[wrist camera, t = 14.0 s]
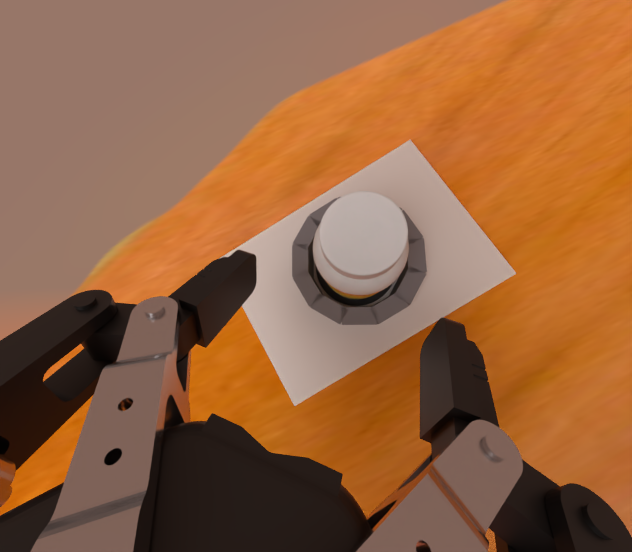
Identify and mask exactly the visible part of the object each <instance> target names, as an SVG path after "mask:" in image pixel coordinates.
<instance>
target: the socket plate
mask: <svg viewBox="0 0 632 552" xmlns="http://www.w3.org/2000/svg"><path fill="white" fill-rule="evenodd" d="M357 191H371V192H376V193H379V194H382V195H384V196H386V197H388V198H389V199H391V200H392V201H393V202H395V203H396V204H397V205H398V207H399V208H400V209H401V211H402V212H403V214H404V216H405V219H406V222H407V227H408V243H409V253H408V258H407V262H406V265H405V267H404V269H403V271H402V273H401V274H400V275H399V277H398V278H397V279H396V280H395V281H394V282H393V283H392V284H391V285H390V286H388V287H387V288H386V289H384V290H382V291H380V292H378V293H376V294H375V295H373V296H371V297H368V298H365V299H359V300H353V299H348V298H345V297H342V296H340V295H339V294H337V293H336V292H335V291H333V290H332V288H331V287H330V286H329V285H328V283H327V282H326V281H325V280H324V278H323V277H322V276H321V274H320V272H319V271H318V269H317V267H316V264H315V261H314V257H313V240H314V236H315V233H316V230H317V228H318V226H319V225H320V223H321V220H322V218H323V215H324V214H325V212H326V210H327V209H328V208H329V207H330V206H331V204H332V203H334V202H335V201H336V200H337V199H339V198H340V197H342V196H344V195H346V194H349V193H353V192H357ZM236 250H243V251H246V252H249V253H252V254H254V255H255V256H256V272H257V281H256V286H255V289H254V291H253V293H252V294H251V295H250V297H249V298H248V299H247V300H246V301H245V302H244V304H243V305H242V307H243V309H244V310H245V312H246V314H247V316H248V318H249V320H250V322H251V324H252V326H253V328H254V330H255V331H256V333H257V335H258V337H259V339H260V341H261V343H262V345H263V347H264V349H265V351H266V353H267V354H268V356H269V358H270V360H271V362H272V364H273V366H274V368H275V370H276V372H277V374H278V376H279V377H280V379H281V381H282V383H283V385H284V387H285V389H286V391H287V393H288V395H289V397H290V399H291V400H292V402H293V404H294V406H296V405H297V404H299V403H301V402H302V401H304V400H306V399H307V398H309V397H311V396H312V395H314V394H316V393H317V392H319V391H321V390H322V389H324V388H326V387H327V386H329V385H331V384H332V383H334V382H336V381H338V380H339V379H341V378H343V377H344V376H346V375H348V374H349V373H351V372H353V371H354V370H356V369H358V368H359V367H361V366H363V365H364V364H366V363H368V362H369V361H371V360H373V359H374V358H376V357H378V356H379V355H381V354H383V353H384V352H386V351H388V350H389V349H391V348H393V347H394V346H396V345H398V344H399V343H401V342H403V341H404V340H406V339H408V338H409V337H411V336H413V335H414V334H416V333H418V332H419V331H421V330H423V329H424V328H426V327H428V326H429V325H431V324H433V323H435V322H436V321H438V320H439V319H440V318H443V317H445V316H446V315H448V314H450V313H451V312H453V311H455V310H456V309H458V308H460V307H461V306H463V305H465V304H466V303H468V302H470V301H471V300H473V299H475V298H476V297H478V296H480V295H481V294H483V293H485V292H486V291H488V290H490V289H491V288H493V287H495V286H496V285H498V284H500V283H501V282H503V281H505V280H506V279H508V278H510V277H511V276H513V275H515V274H516V272H515V271H514V270H513V268H512V267H511V266H510V265H509V263H508V262H507V261H506V260H505V258H504V257H503V256H502V255H501V253H500V252H499V251H498V250H497V248H496V247H495V246H494V245H493V243H492V242H491V241H490V239H489V238H488V237H487V236H486V234H485V233H484V232H483V231H482V229H481V228H480V227H479V226H478V224H477V223H476V222H475V221H474V219H473V218H472V217H471V216H470V214H469V213H468V212H467V211H466V209H465V208H464V207H463V205H462V204H461V203H460V202H459V200H458V199H457V198H456V197H455V195H454V194H453V193H452V192H451V190H450V189H449V188H448V187H447V185H446V184H445V183H444V182H443V180H442V179H441V178H440V177H439V175H438V174H437V173H436V171H435V170H434V169H433V168H432V166H431V165H430V164H429V163H428V161H427V160H426V159H425V158H424V156H423V155H422V154H421V153H420V151H419V150H418V149H417V148H416V146H415V145H414V144H413V143H412V141H411V140H409V141H407V142H406V143H404V144H402V145H401V146H399V147H397V148H396V149H394V150H393V151H391V152H389V153H388V154H386V155H385V156H383V157H381V158H380V159H378V160H377V161H375V162H373V163H372V164H370V165H369V166H367V167H365V168H364V169H362V170H361V171H359V172H357V173H356V174H354V175H353V176H351V177H349V178H348V179H346V180H344V181H343V182H341V183H340V184H338V185H336V186H335V187H333V188H332V189H330V190H328V191H327V192H325V193H324V194H322V195H320V196H319V197H317V198H316V199H314V200H312V201H311V202H309V203H308V204H306V205H304V206H303V207H301V208H300V209H298V210H296V211H295V212H293V213H292V214H290V215H288V216H287V217H285V218H283V219H282V220H280V221H279V222H277V223H275V224H274V225H272V226H271V227H269V228H267V229H266V230H264V231H263V232H261V233H259V234H258V235H256V236H255V237H253V238H251V239H250V240H248V241H247V242H245V243H243V244H242V245H240V246H239V247H237V248H235V249H234V250H232V251H230V252H229V253H227V254H226V255H224V256H222V257H229V256H230V255H232V254H233V253H234V252H235V251H236ZM222 257H221V258H222ZM219 259H220V258H219Z"/></svg>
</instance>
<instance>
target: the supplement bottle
mask: <svg viewBox="0 0 632 552" xmlns="http://www.w3.org/2000/svg"><path fill="white" fill-rule="evenodd" d="M408 253H409V243H408V227H407V222H406V219H405V216H404V214H403V212H402V211H401V209H400V208H399V207H398V205H397V204H396V203H395V202H393V201H392V200H391V199H389V198H388V197H386V196H384V195H382V194H379V193H376V192H371V191H357V192H353V193H349V194H346V195H344V196H342V197H340V198H339V199H337V200H336V201H335V202H334V203H332V204H331V206H330V207H329V208H328V209H327V210H326V212H325V214H324V215H323V218H322V220H321V223H320V225H319V226H318V228H317V230H316V233H315V236H314V240H313V257H314V261H315V264H316V267H317V269H318V271H319V272H320V274H321V276H322V277H323V278H324V280H325V281H326V282H327V283H328V285H329V286H330V287H331V288H332V290H333V291H335V292H336V293H337V294H339V295H340V296H342V297H345V298H348V299H353V300H359V299H365V298H368V297H371V296H373V295H375V294H376V293H378V292H380V291H382V290H384V289H386V288H387V287H388V286H390V285H391V284H392V283H393V282H394V281H395V280H396V279H397V278H398V277H399V275H400V274H401V273H402V271H403V269H404V267H405V265H406V262H407V258H408Z"/></svg>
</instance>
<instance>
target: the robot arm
mask: <svg viewBox="0 0 632 552" xmlns="http://www.w3.org/2000/svg"><path fill="white" fill-rule="evenodd" d="M256 281H257V272H256V256H255V255H254V254H252V253H249V252H246V251H243V250H236V251H235V252H234V253H233V254H232V255H230V256H229V257H222V258H220V259H217V260H214V261H213V262H211V263H210V264H209V265H207V266H206V267H205V268H204V269H202V270H201V271H200V272H199V273H197V275H195V276H194V277H192V278H191V279H190V280H189V281H187V282H186V283H185V284H184V285H182V286H181V287H180V288H179V289H177V290H176V291H175V292H174V293H172V294H171V295H170V296H168V297H163V296H161V297H153V298H149V299H147V300H144V301H142V302H141V303H139V304H138V305H136V304H124V303H115V302H114V300H113V298H112V296H111V295H110V293H108V292H106V291H103V290H90V291H85V292H81V293H78V294H76V295H74V296H72V297H70V298H68V299H67V300H65V301H63V302H62V303H60V304H59V305H57V306H55V307H54V308H52V309H51V310H49V311H48V312H46V313H44V314H43V315H41V316H40V317H38V318H36V319H34V320H33V321H31V322H30V323H28V324H26V325H25V326H23V327H22V328H20V329H18V330H17V331H15V332H14V333H12V334H10V335H9V336H7V337H6V338H4V339H3V340H1V341H0V507H1V506H2V505H3V504H4V503H5V502H6V501H7V500H8V499H9V497H10V495H11V493H12V487H11V486H10V485H11V483H12V481H13V479H14V476H15V472H16V470H17V469H18V468H19V467H20V466H21V465H22V464H23V463H24V462H25V461H26V460H27V459H28V458H29V457H30V456H31V455H32V454H33V453H34V452H35V451H36V450H37V449H38V448H39V447H40V446H42V445H43V444H44V443H45V442H46V441H47V440H48V439H49V438H50V437H51V436H52V435H53V434H54V433H55V432H56V431H57V430H58V429H59V428H60V427H61V426H62V425H63V424H64V423H65V422H66V421H67V420H68V419H69V418H70V417H71V416H72V415H73V414H74V413H75V412H76V411H77V410H78V409H79V408H80V407H81V406H82V405H83V404H84V403H85V402H86V401H87V400H88V399H89V398H90V397H91V396H92V395H93V394H94V395H93V398H92V401H91V404H90V407H89V410H88V413H87V416H86V419H85V422H84V425H83V428H82V431H81V434H80V437H79V440H78V443H77V446H76V449H75V452H74V455H73V458H72V461H71V464H70V467H69V470H68V473H67V476H66V479H65V482H64V483H62V484H60V485H58V486H56V487H54V488H52V489H50V490H49V491H47V492H45V493H43V494H41V495H39V496H37V497H35V498H33V499H31V500H29V501H27V502H26V503H24V504H22V505H20V506H18V507H16V508H14V509H12V510H10V511H8V512H6V513H4V514H3V515H1V516H0V552H488V548H489V541H488V540H487V538H486V537H485V534H486V531H487V529H488V528H490V529H491V530H492V531H493V532H494V533H495V540H496V549H497V552H632V537H631V535H630V533H629V531H628V530H627V528H626V526H625V525H624V523H623V522H622V521H621V519H620V518H619V516H618V515H617V514H616V513H615V512H614V510H613V509H612V508H611V507H610V506H609V505H608V504H607V503H606V502H605V501H604V500H603V499H601V498H600V497H599V496H598V495H596V494H595V493H594V492H592V491H591V490H589V489H587V488H585V487H583V486H581V485H578V484H567V485H564V486H561V487H560V486H558V485H557V484H555V483H554V482H553V481H551V480H550V479H548V478H547V477H546V476H544V475H543V474H541V473H540V472H539V471H537V470H536V469H534V468H533V467H531V466H530V465H529V464H527V463H526V462H525V461H524V460H522V458H521V455H520V453H519V451H518V449H517V447H516V445H515V444H514V442H513V441H512V440H511V439H510V437H509V436H508V435H507V434H506V433H505V432H504V431H503V430H501V429H500V428H499V424H498V420H497V416H496V411H495V407H494V403H493V399H492V394H491V390H490V386H489V382H487V381H488V377H487V373H486V371H485V369H486V368H485V364H484V360H483V356H482V354H481V352H480V351H479V349H478V348H477V346H476V345H475V343H474V342H472V341H469V340H467V337H466V332H465V327H464V325H463V324H461V323H458V322H455V321H452V320H449V319H446V318H440V319H439V321H438V322H437V323H436V325H435V326H434V328H433V329H432V331H431V332H430V334H429V335H428V337H427V338H426V340H425V341H424V343H423V346H422V349H421V354H420V439H423V440H425V441H427V442H430V443H431V447H432V453H431V454H430V455H428V456H427V458H426V459H425V460H424V461H423V462H422V463H421V464H420V465H419V466H418V467H417V468H416V469H415V470H414V471H413V472H412V473H411V474H410V475H409V476H408V477H407V478H406V479H405V480H404V481H403V482H402V483H401V484H400V486H399V487H398V488H397V489H396V490H395V491H394V492H393V493H392V494H391V495H389V496H388V497H387V498H386V499H385V500H384V501H383V502H382V503H381V504H380V505H378V506H377V507H376V508H375V509H374V510H373V511H372V512H371V514H370V515H369V516H368V517H367V518H366V517H365V515H364V513H363V511H362V509H361V508H360V506H359V505H358V503H357V502H356V500H355V499H354V497H353V496H352V495H351V494H350V493H349V492H348V491H347V489H346V488H344V487H343V486H342V485H341V480H342V475H343V474H341V473H339V472H337V471H335V470H333V469H331V468H329V467H326V466H324V465H322V464H320V463H318V462H316V461H314V460H311V459H309V458H305V457H297V456H290V455H282V454H275V453H271V452H269V451H267V450H266V449H265V448H264V447H263V446H262V445H261V444H260V443H259V442H257V441H256V440H255V439H254V438H253V437H252V436H251V435H250V434H249V433H248V432H247V431H246V430H245V429H244V428H242V427H241V426H239V425H237V424H234V423H232V422H230V421H228V420H226V419H224V418H222V417H219V416H217V415H215V414H213V413H212V414H211V416H210V417H209V419H208V420H207V422H206V421H194V422H190V406H189V382H190V364H191V349H192V348H193V347H194V345H195V344H198V345H201V346H203V347H205V348H206V347H207V346H208V345H209V343H210V342H211V341H212V340H213V339H214V338H215V336H216V335H217V334H218V333H219V332H220V331H221V329H222V328H223V327H224V326H225V325H226V323H227V322H228V321H229V320H230V319H231V318H232V316H233V315H234V314H235V313H236V312H237V311H238V309H239V308H240V307H241V306H242V305H243V304H244V302H245V301H246V300H247V299H248V298H249V297H250V295H251V294H252V293H253V291H254V289H255V286H256ZM80 343H81V344H82V346H83V347H84V349H83V350H82V351H81V352H80V353H78V354H77V355H76V356H75V357H73V358H72V359H71V360H70V361H68V362H67V363H66V364H65V365H63V366H62V367H61V368H60V369H59V370H57V371H56V372H55V373H54V374H52V375H51V376H50V377H49V378H47V379H46V380H45V381H44V382H43V377H44V374H45V373H46V371H47V370H48V369H49V368H50V367H51V366H52V365H54V364H55V363H56V362H58V361H59V360H60V359H61V358H63V357H64V356H65V355H66V354H68V353H69V352H70V351H72V350H73V349H74V348H75V347H77V346H78V345H79V344H80Z"/></svg>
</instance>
